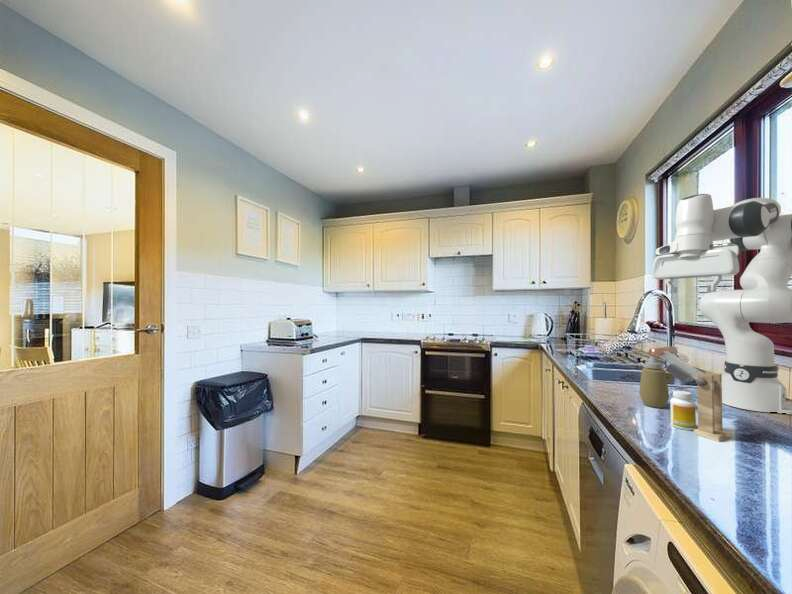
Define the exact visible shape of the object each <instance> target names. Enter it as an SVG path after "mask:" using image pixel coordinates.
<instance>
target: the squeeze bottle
mask: <svg viewBox="0 0 792 594" xmlns="http://www.w3.org/2000/svg"><path fill="white" fill-rule="evenodd" d="M640 373H641V375H640V382H639V392H638V393H639V395H640V399H641V401H642V404H643V405H644V406H646V407H650V408H657V409H661V408H662V409H663V408H666V406H667V403H668V401H669V399H670V394H669V386H668V379H667V371H665V370H664V369H663V363H661V362H659V361H658V356H657V357H652V356H650V355H649V360H648V361H644V368H642V369H641V372H640Z"/></svg>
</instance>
